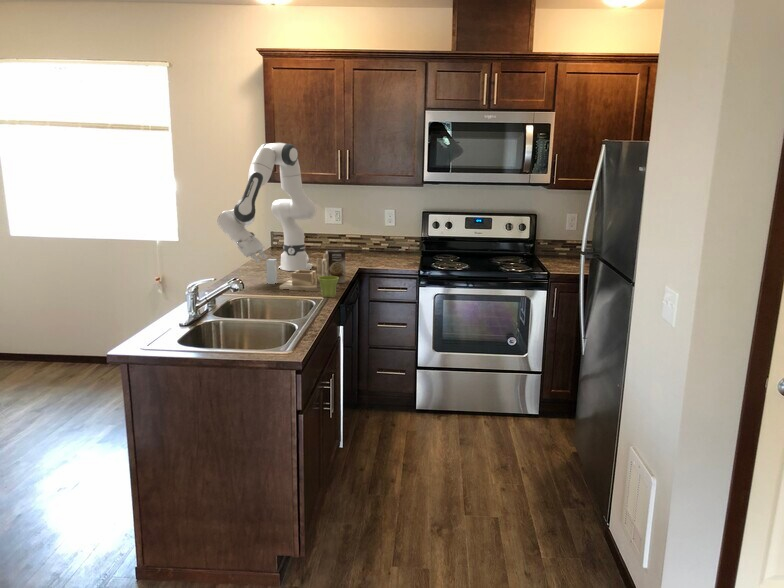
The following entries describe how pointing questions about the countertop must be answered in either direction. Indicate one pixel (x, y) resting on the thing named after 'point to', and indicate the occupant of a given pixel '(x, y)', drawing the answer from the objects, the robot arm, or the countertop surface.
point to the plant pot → (328, 285)
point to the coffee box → (336, 264)
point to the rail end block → (271, 271)
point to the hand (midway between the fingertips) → (262, 259)
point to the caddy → (308, 277)
